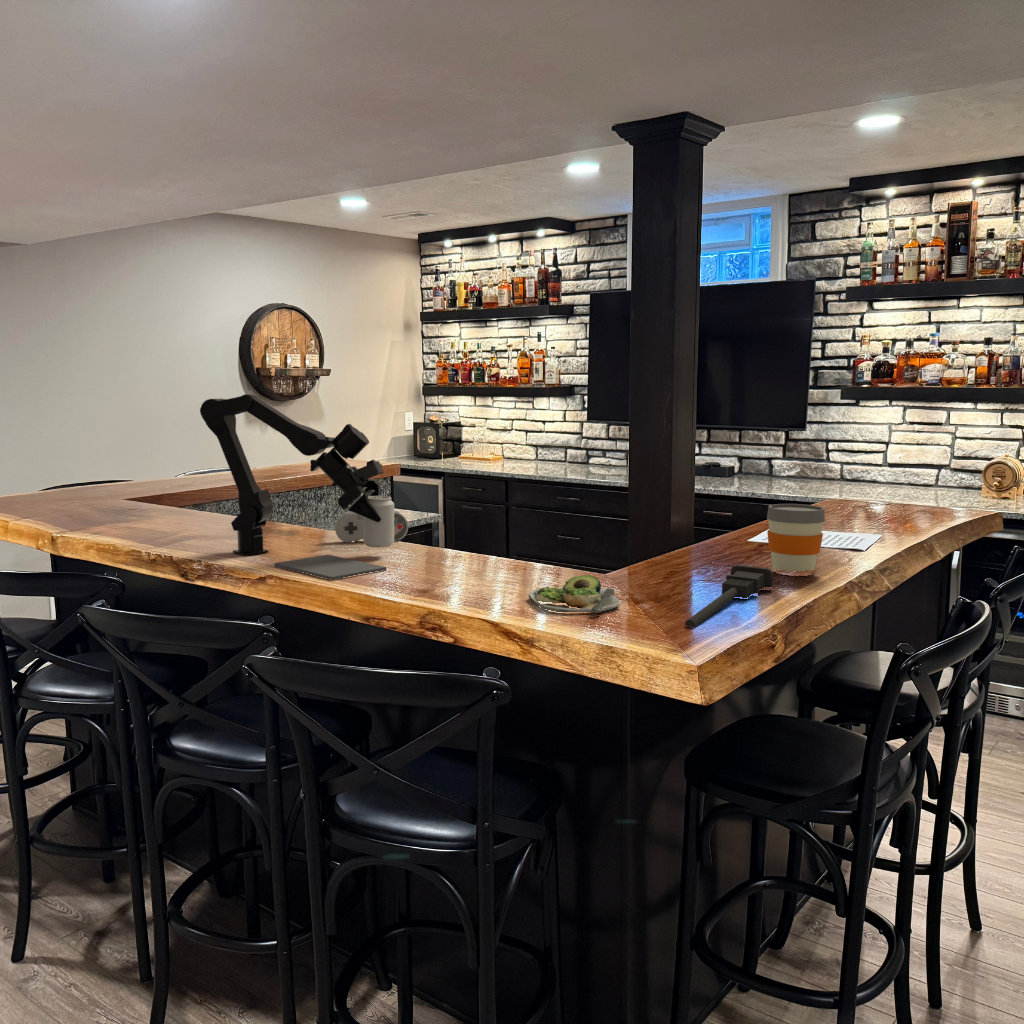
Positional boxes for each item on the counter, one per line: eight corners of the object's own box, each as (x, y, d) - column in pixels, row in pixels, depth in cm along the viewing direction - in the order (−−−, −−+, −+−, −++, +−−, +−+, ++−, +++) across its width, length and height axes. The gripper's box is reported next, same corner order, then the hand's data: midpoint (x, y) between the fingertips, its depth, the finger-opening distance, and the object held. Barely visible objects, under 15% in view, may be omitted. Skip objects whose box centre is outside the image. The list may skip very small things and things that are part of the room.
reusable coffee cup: (753, 569, 207) (755, 505, 205) (797, 565, 211) (801, 502, 209) (787, 580, 195) (791, 512, 193) (834, 576, 200) (838, 509, 198)
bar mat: (274, 566, 206) (274, 563, 206) (327, 557, 217) (327, 554, 217) (332, 580, 192) (332, 577, 191) (386, 570, 203) (386, 567, 202)
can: (363, 548, 214) (363, 498, 212) (362, 542, 221) (362, 494, 220) (395, 547, 216) (395, 498, 214) (393, 542, 223) (393, 494, 221)
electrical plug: (778, 587, 189) (779, 564, 188) (713, 642, 154) (714, 614, 153) (738, 582, 193) (739, 559, 193) (666, 634, 159) (666, 607, 158)
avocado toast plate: (640, 618, 164) (640, 593, 163) (545, 621, 161) (545, 596, 160) (608, 594, 183) (609, 571, 182) (523, 597, 179) (523, 574, 179)
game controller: (335, 543, 238) (334, 512, 236) (335, 542, 240) (334, 511, 239) (408, 541, 242) (408, 510, 241) (407, 539, 244) (407, 509, 243)
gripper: (351, 452, 207) (397, 501, 207) (373, 446, 225) (416, 492, 225) (318, 484, 209) (364, 533, 209) (343, 477, 227) (385, 521, 227)
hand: (384, 518), depth 217 cm, fingers closed on can, 7 cm apart
